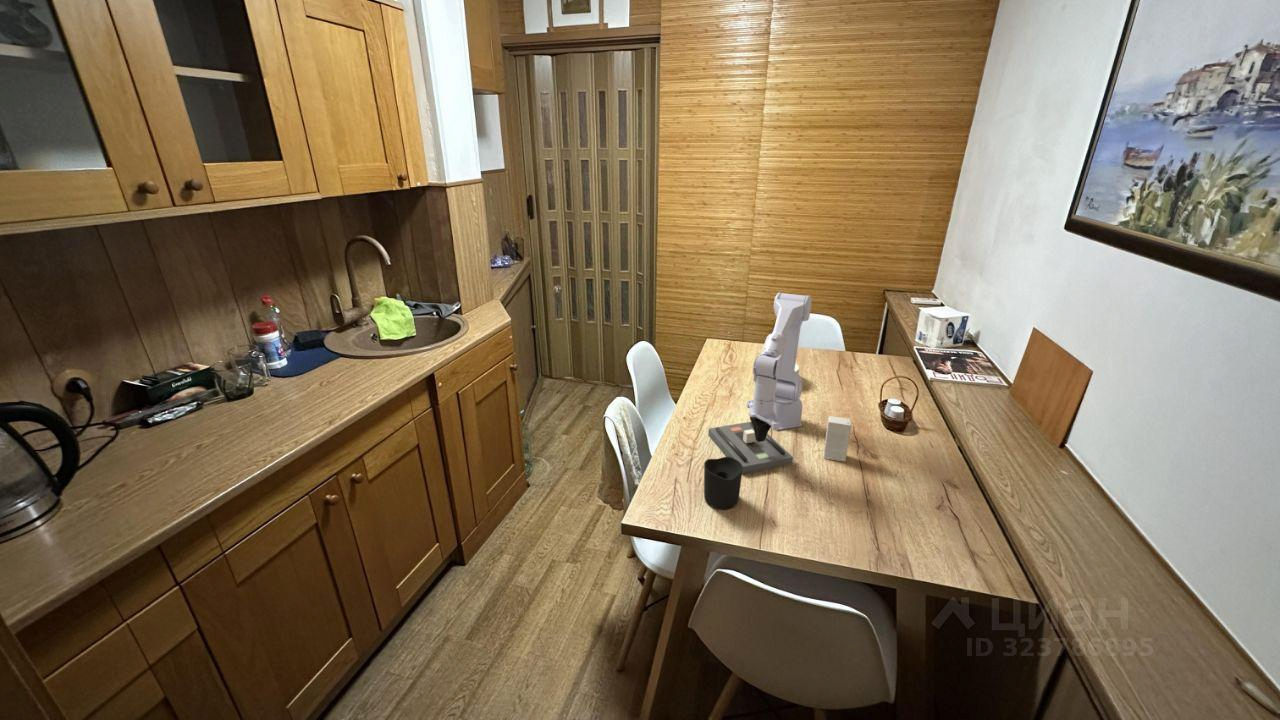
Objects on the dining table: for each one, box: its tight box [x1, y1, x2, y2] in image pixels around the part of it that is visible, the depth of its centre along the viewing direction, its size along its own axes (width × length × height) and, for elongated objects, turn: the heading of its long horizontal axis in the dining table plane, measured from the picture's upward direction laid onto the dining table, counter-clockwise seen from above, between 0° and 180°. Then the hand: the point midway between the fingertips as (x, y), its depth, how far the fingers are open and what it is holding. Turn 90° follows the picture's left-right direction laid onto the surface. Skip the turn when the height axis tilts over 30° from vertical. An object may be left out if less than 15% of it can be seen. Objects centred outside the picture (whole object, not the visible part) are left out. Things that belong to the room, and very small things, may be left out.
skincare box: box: [823, 415, 852, 462], centre depth 141 cm, size 6×4×12 cm
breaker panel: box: [708, 421, 794, 475], centre depth 147 cm, size 16×22×4 cm
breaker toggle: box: [743, 429, 755, 443], centre depth 146 cm, size 3×2×3 cm
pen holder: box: [703, 456, 743, 510], centre depth 124 cm, size 9×9×10 cm
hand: (760, 440), depth 140 cm, fingers closed
